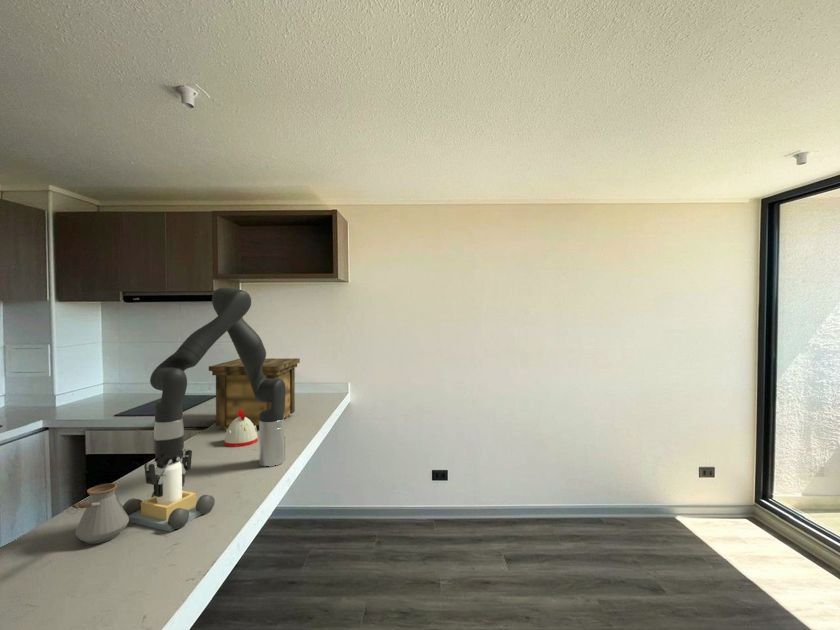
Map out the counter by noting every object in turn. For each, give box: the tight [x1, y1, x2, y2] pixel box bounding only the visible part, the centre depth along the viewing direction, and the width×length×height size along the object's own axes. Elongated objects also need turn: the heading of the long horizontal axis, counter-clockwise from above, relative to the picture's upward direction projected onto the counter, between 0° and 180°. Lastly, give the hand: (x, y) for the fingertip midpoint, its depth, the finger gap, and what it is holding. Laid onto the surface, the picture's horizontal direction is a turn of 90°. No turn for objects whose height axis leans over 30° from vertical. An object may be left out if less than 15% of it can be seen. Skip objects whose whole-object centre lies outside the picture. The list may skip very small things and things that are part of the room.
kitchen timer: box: [224, 409, 259, 448], centre depth 193 cm, size 14×14×15 cm
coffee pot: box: [66, 483, 130, 545], centre depth 107 cm, size 21×12×15 cm, turn 16°
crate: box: [208, 357, 301, 430], centre depth 227 cm, size 35×35×33 cm
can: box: [157, 460, 183, 506], centre depth 124 cm, size 6×6×12 cm
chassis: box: [122, 490, 216, 532], centre depth 124 cm, size 14×20×5 cm
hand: (169, 491), depth 124 cm, fingers closed on can, 6 cm apart
